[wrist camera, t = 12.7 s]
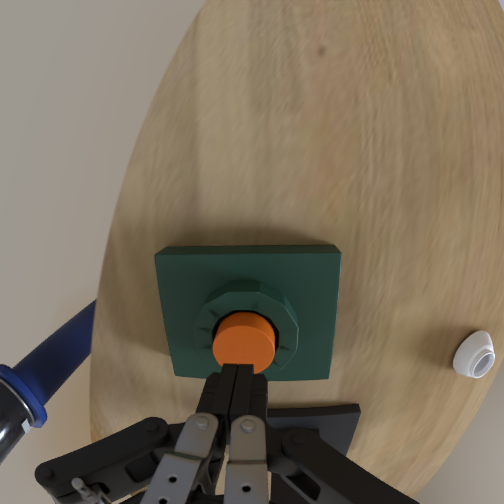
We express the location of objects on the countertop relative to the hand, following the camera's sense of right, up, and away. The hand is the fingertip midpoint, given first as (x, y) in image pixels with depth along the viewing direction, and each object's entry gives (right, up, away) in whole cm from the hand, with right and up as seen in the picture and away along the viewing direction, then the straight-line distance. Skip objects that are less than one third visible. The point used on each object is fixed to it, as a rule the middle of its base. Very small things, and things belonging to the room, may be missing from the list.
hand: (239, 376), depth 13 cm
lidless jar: (+23, -4, +8) cm, 24 cm away
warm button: (0, +1, +4) cm, 4 cm away
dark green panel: (0, +2, +8) cm, 8 cm away
